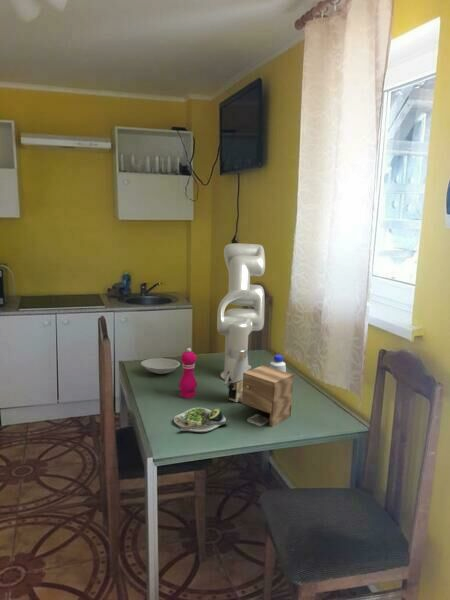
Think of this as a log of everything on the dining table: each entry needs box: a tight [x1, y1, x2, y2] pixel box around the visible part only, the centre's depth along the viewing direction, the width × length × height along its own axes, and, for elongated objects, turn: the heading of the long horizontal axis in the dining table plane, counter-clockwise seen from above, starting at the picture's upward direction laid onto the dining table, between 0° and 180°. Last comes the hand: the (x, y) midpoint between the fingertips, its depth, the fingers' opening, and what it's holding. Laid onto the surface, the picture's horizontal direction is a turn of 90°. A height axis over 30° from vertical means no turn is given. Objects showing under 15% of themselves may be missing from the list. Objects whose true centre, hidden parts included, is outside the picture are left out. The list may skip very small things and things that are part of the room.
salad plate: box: [173, 407, 231, 433], centre depth 178 cm, size 19×18×5 cm
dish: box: [140, 357, 181, 375], centre depth 226 cm, size 18×14×5 cm
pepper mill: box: [178, 347, 198, 399], centre depth 201 cm, size 7×7×20 cm
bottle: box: [269, 354, 287, 372], centre depth 197 cm, size 7×7×20 cm
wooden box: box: [241, 364, 295, 427], centre depth 185 cm, size 13×14×16 cm
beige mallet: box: [228, 380, 243, 403], centre depth 193 cm, size 4×23×8 cm, turn 50°
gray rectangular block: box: [246, 413, 270, 427], centre depth 182 cm, size 6×6×2 cm
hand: (235, 396), depth 200 cm, fingers closed on beige mallet, 4 cm apart
